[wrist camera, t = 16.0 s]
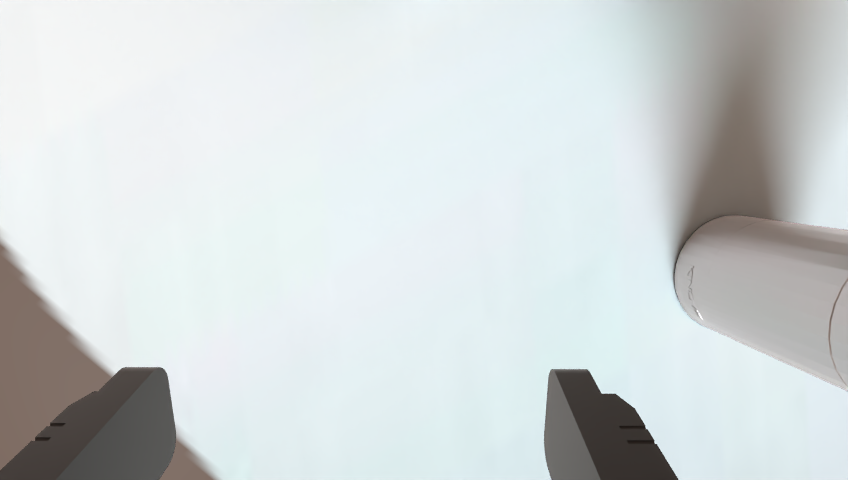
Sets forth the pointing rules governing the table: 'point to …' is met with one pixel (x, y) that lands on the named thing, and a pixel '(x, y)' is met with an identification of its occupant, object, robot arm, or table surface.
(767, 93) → the table surface
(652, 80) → the table surface
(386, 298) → the table surface
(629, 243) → the table surface
